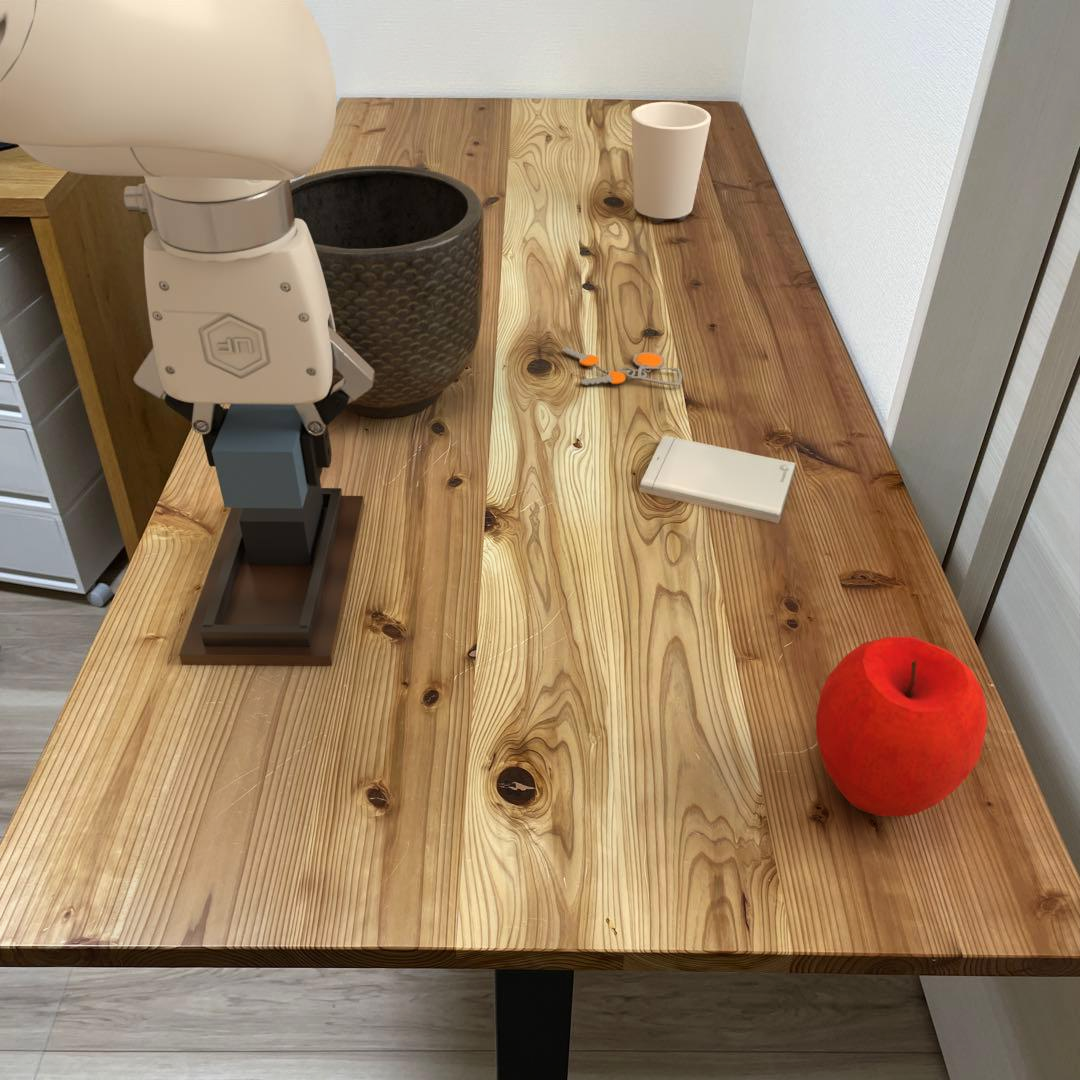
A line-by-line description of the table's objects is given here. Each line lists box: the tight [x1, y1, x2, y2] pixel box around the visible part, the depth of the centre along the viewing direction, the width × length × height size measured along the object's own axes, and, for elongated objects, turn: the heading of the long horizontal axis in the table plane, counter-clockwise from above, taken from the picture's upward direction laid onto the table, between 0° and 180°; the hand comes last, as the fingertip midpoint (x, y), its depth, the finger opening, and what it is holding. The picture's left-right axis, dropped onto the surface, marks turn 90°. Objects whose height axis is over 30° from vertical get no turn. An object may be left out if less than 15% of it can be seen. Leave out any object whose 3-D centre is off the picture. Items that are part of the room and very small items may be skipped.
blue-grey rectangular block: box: [212, 404, 309, 509], centre depth 69 cm, size 7×5×4 cm
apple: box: [815, 636, 989, 818], centre depth 66 cm, size 10×10×12 cm
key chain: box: [560, 346, 683, 387], centre depth 109 cm, size 13×7×1 cm, turn 83°
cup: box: [630, 101, 712, 224], centre depth 136 cm, size 10×10×13 cm
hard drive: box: [638, 435, 797, 524], centre depth 96 cm, size 2×8×12 cm
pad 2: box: [239, 479, 325, 565], centre depth 86 cm, size 7×5×4 cm
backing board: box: [178, 487, 366, 666], centre depth 84 cm, size 19×11×2 cm, turn 0°
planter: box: [290, 164, 485, 419], centre depth 101 cm, size 20×20×19 cm
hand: (273, 470), depth 71 cm, fingers closed on blue-grey rectangular block, 5 cm apart
